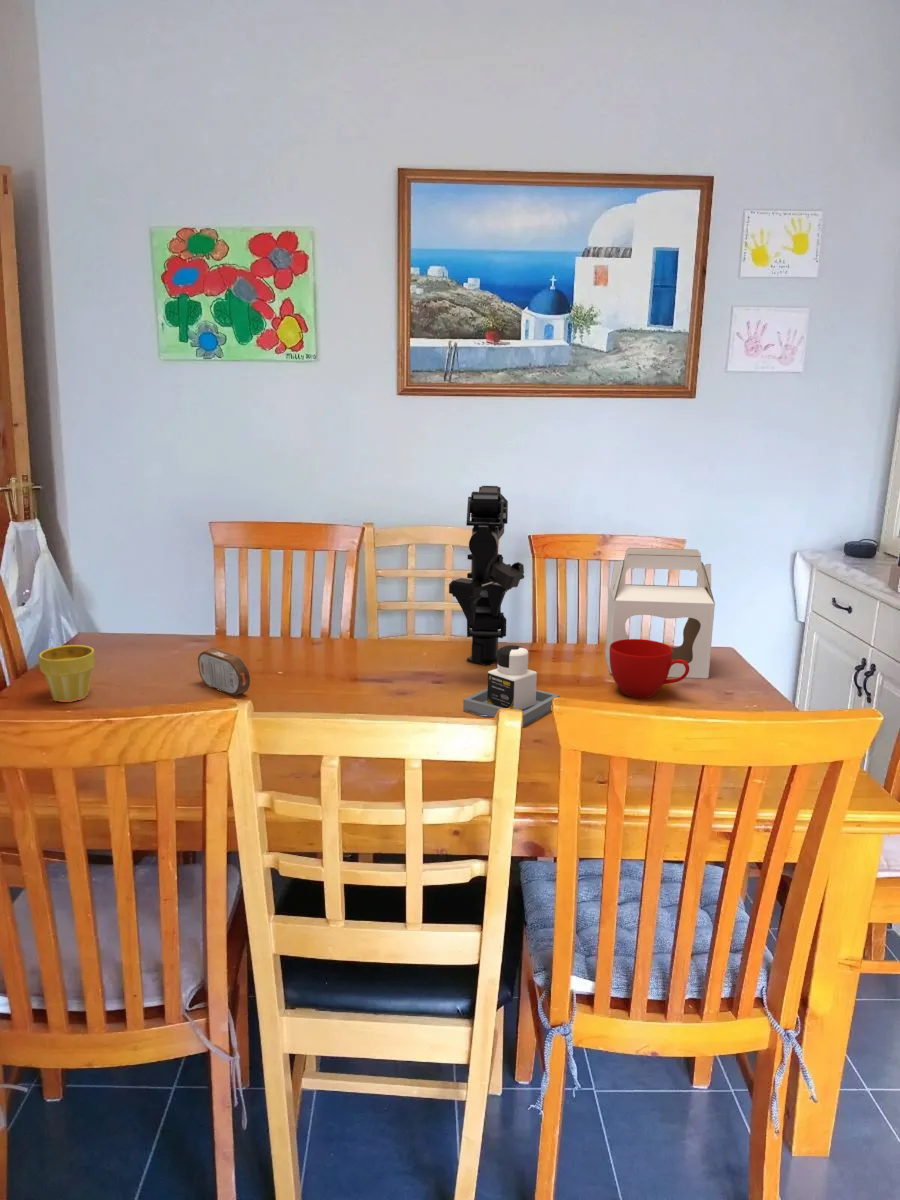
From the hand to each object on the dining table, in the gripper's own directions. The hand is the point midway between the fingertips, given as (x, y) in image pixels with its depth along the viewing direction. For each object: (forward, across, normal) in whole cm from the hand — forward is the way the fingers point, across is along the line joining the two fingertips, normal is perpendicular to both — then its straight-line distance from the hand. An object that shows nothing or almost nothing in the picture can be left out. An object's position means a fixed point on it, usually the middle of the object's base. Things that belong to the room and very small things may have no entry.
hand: (483, 620), depth 193 cm
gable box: (+13, +30, -28) cm, 43 cm away
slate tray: (+13, -13, -16) cm, 24 cm away
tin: (+13, -41, +38) cm, 57 cm away
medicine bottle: (+13, -12, -16) cm, 24 cm away
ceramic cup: (+13, +12, -34) cm, 38 cm away
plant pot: (+13, -63, +59) cm, 87 cm away
